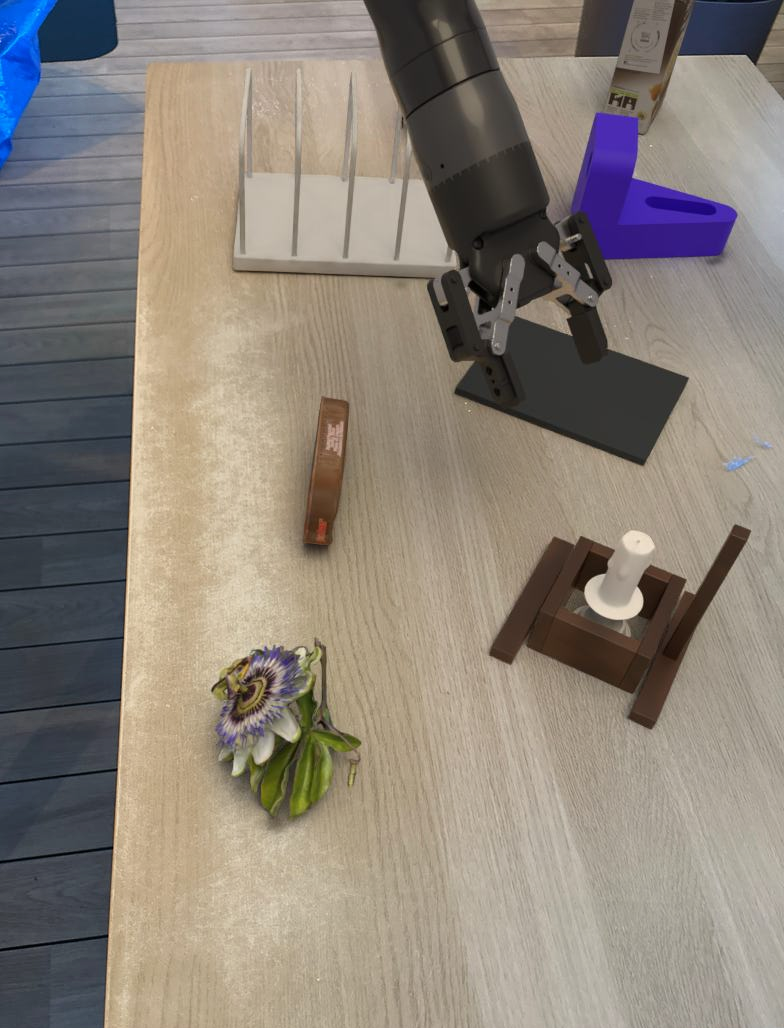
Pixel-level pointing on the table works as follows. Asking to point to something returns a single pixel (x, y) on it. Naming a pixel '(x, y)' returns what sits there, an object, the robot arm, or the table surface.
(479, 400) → the mat
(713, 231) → the bracket
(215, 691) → the passion flower
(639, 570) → the candle
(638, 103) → the coffee box
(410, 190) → the file sorter
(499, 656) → the brown wooden stand
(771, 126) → the table surface
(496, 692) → the table surface
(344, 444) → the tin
